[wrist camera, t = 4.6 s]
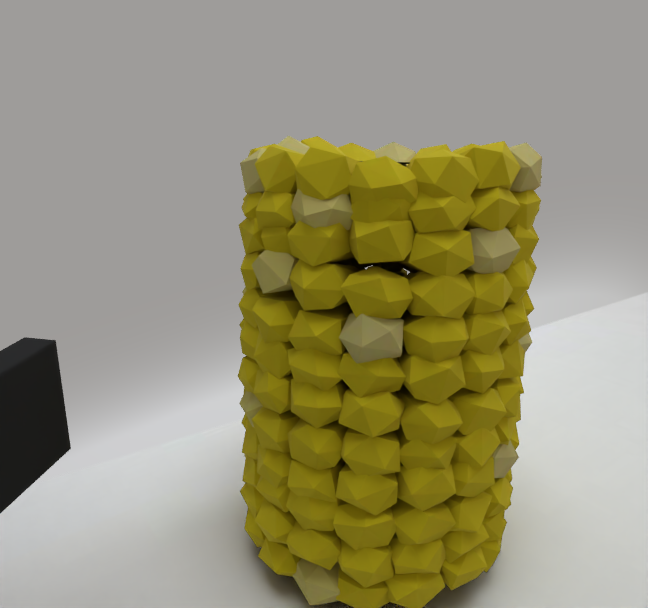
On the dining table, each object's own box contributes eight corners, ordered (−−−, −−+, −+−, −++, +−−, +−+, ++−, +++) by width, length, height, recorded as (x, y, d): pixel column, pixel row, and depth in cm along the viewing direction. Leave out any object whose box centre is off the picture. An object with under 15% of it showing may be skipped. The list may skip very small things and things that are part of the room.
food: (229, 659, 19) (293, 480, 28) (631, 642, 16) (553, 454, 26) (83, 170, 15) (214, 155, 25) (574, 59, 13) (508, 90, 22)
